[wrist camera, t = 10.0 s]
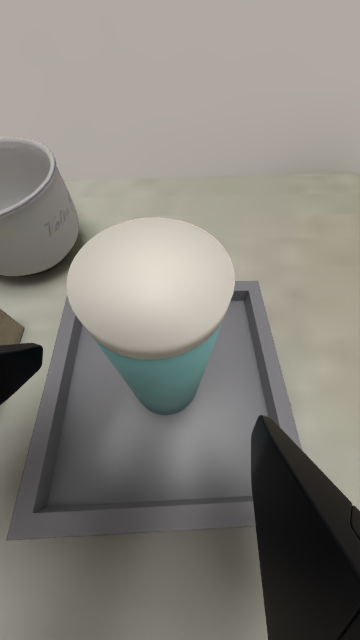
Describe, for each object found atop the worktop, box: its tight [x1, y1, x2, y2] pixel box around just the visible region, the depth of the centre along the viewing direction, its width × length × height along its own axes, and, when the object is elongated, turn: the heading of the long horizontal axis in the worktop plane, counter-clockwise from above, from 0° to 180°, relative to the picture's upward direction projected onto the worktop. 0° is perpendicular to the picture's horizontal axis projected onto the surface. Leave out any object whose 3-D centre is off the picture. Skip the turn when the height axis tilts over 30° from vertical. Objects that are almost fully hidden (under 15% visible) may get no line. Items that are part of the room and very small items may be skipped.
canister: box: [66, 217, 235, 415], centre depth 12 cm, size 5×5×12 cm
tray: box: [6, 281, 302, 540], centre depth 16 cm, size 16×16×2 cm
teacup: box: [0, 137, 79, 276], centre depth 21 cm, size 14×11×8 cm
